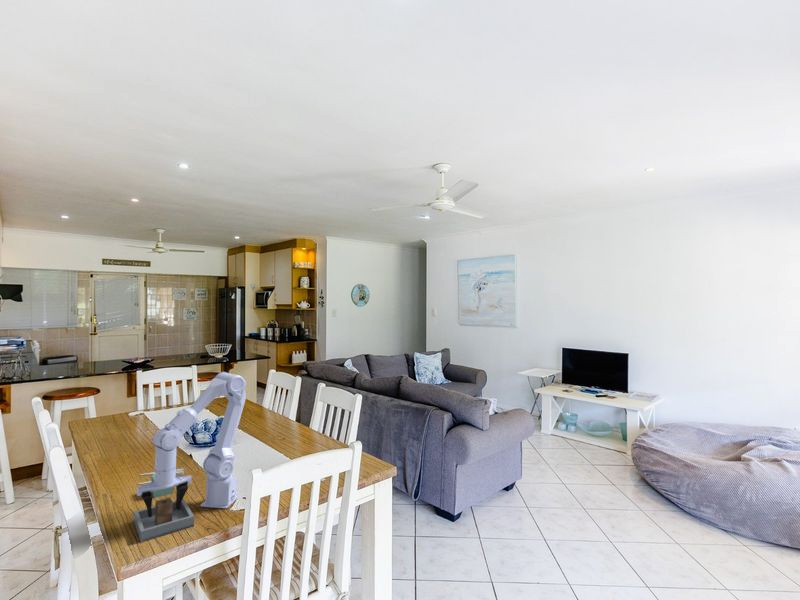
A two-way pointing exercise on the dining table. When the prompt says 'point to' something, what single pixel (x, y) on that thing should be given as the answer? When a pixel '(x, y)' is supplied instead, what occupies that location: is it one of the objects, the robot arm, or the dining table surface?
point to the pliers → (178, 472)
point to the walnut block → (163, 511)
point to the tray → (151, 530)
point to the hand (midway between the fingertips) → (164, 512)
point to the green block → (161, 492)
